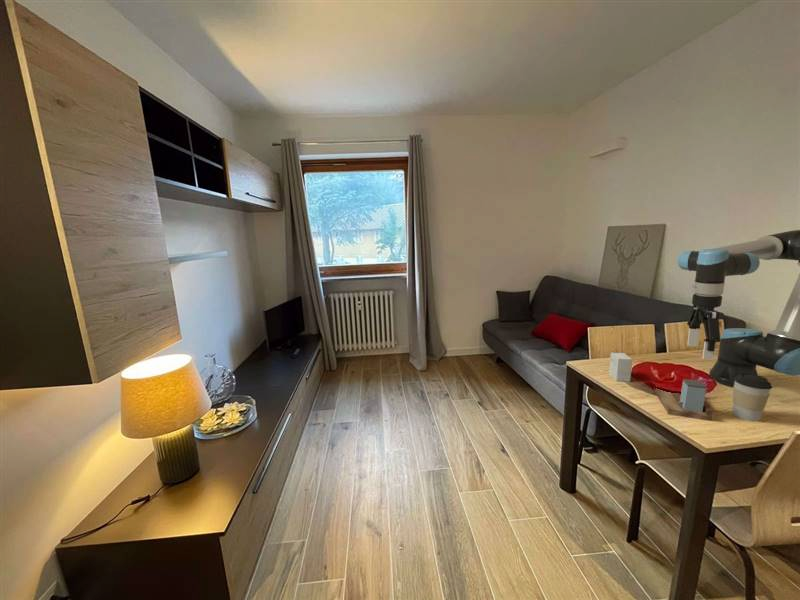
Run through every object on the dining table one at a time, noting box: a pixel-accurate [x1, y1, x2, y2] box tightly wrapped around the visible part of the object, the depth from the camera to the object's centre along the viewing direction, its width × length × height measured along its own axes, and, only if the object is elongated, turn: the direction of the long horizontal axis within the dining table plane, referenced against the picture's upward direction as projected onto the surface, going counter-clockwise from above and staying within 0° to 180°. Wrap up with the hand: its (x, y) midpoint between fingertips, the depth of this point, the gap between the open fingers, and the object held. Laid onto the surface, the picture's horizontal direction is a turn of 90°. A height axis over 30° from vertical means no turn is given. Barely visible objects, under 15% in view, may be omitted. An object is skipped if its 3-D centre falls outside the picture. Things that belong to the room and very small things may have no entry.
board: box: [654, 388, 714, 422], centre depth 124 cm, size 12×19×4 cm, turn 155°
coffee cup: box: [732, 373, 773, 422], centre depth 115 cm, size 9×9×15 cm
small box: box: [608, 352, 633, 382], centre depth 147 cm, size 8×6×10 cm
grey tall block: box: [678, 378, 707, 412], centre depth 118 cm, size 6×5×10 cm
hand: (699, 352), depth 119 cm, fingers open, 13 cm apart
